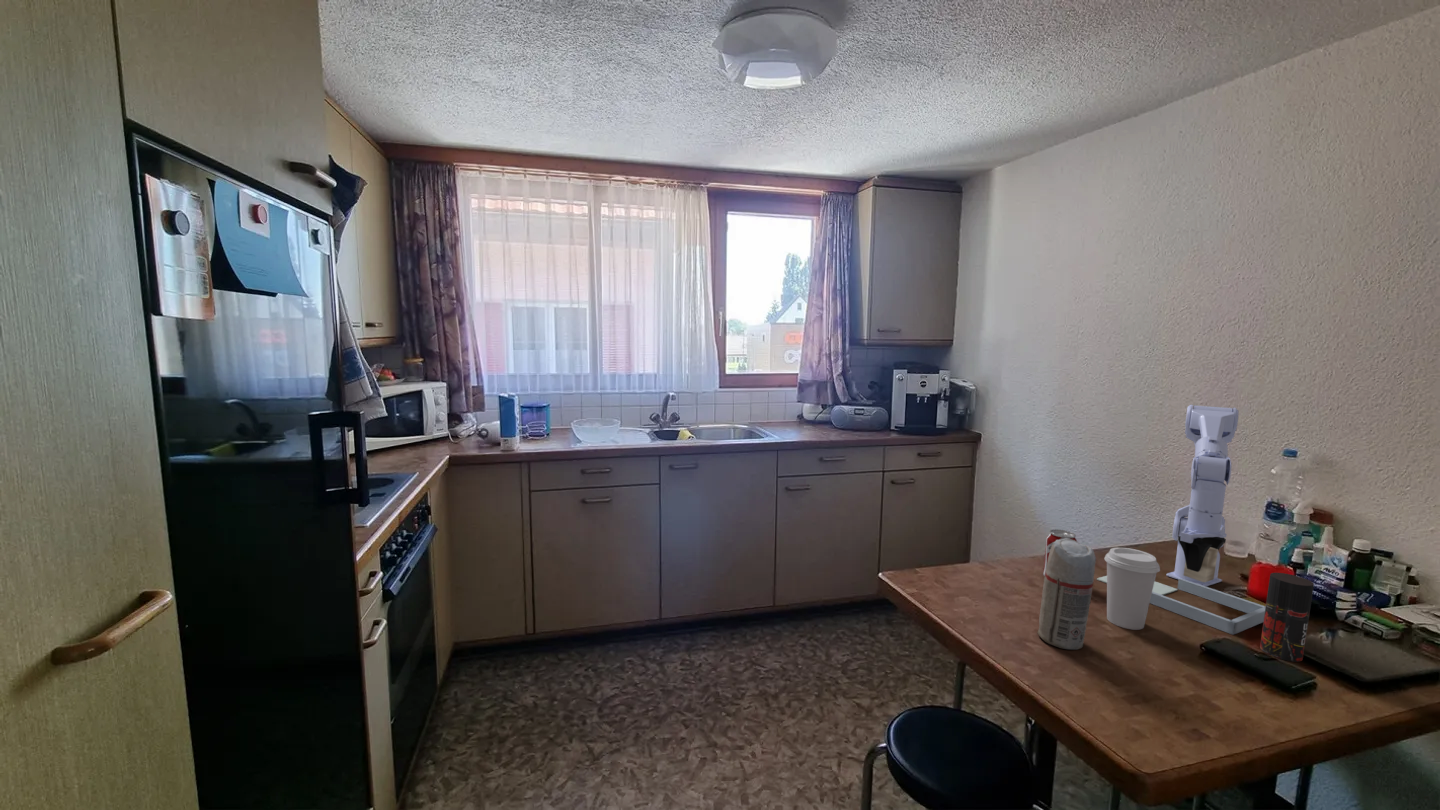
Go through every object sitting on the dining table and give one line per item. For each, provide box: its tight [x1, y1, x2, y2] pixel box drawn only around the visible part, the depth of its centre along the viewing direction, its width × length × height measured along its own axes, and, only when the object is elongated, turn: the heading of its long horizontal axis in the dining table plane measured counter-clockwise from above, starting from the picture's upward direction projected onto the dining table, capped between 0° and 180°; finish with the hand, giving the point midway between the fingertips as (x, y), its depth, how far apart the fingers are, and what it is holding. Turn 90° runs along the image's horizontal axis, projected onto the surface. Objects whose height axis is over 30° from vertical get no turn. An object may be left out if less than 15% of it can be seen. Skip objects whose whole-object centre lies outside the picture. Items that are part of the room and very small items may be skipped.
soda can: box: [1042, 529, 1078, 577], centre depth 143 cm, size 7×7×12 cm
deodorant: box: [1259, 572, 1315, 663], centre depth 111 cm, size 6×6×15 cm
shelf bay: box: [1149, 578, 1266, 636], centre depth 129 cm, size 16×17×2 cm
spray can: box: [1036, 538, 1097, 650], centre depth 113 cm, size 8×8×20 cm
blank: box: [1184, 547, 1219, 582], centre depth 130 cm, size 4×4×7 cm
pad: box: [1096, 575, 1179, 596], centre depth 142 cm, size 12×12×1 cm
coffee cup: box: [1104, 547, 1161, 631], centre depth 122 cm, size 10×10×15 cm
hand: (1198, 568), depth 130 cm, fingers closed on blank, 4 cm apart
